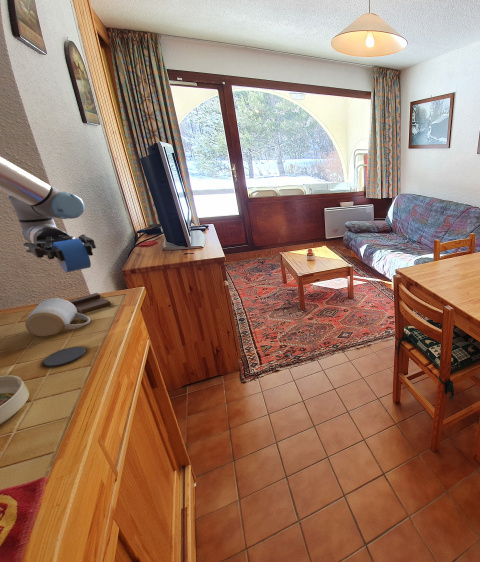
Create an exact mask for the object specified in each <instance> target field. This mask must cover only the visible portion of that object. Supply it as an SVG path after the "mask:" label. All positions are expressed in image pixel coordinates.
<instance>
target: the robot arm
mask: <svg viewBox="0 0 480 562" xmlns="http://www.w3.org/2000/svg"><path fill="white" fill-rule="evenodd" d="M0 191H1V192H3V193H5V194H7V195H8V196H7V197H8V200H9V202H10V203H11V205H12V208H13V210H14V213H15V214H16V216H17V219H18V223H19V225H20V227H21V234H22V236H23V238H24V239H25V240H26V241H27V242H24V243H23V246H24V248H25V251H26V253H29V254H30V253H31V254H32V255H33V256H35V257H36V258H37V259H43V258H44V256H46V257H47V258H48V260H54V259H55V258H56V259H59V260H61V261H65V258H64V255H63V253H62V250H60V249H58V248H56V247H55V246H53V242H59V241H66V240H72V239H79V240H80V241H81V242H82V243H83V245H84V246H85V248H86V250H87V253H88V255H89V257H91V256H94V252H93V250H94V249H96V248H97V246H96V245H97V244H96V242H95V240H94V239H93V238H92V237H89V236H87V235H86V234H80V235H78V236H77V237H75V236H72V235H69V234H68V232H66V231H64V230H63V229H60V228H58V227H57V225H56V223H55V220H54V219H55V218H56V219H62V220H66V219H68V220H69V219H70V220H71V219H78V218H79V217H81V216H82V215H83V214H84V212H85V204H84V202H83V200H82V198H80V197H79V196H78V195H76V194H73V193H70V192H67V191H66V192H65V191H61V190H59V189H58V188H56V187H54V186H53V185H50V184H49V183H47V182H45V181H43V180H42V179H40V178H39V177H37V176H35V175H33V174H32V173H30V172H28V171H26V170H25V169H23V168H21V167H20V166H18V165H16V164H14V163H12V162H11V161H9V160H8V159H6V158H4V157H3V156H1V155H0Z"/></svg>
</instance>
